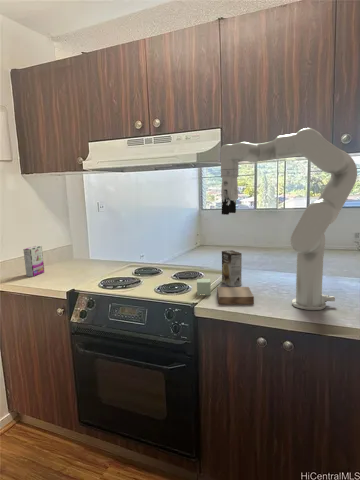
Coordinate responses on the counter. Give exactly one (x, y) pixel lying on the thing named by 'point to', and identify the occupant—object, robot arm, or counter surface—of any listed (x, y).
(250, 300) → the walnut base
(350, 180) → the robot arm
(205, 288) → the sage block
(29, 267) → the candy bar box
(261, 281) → the counter surface
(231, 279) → the coffee box
